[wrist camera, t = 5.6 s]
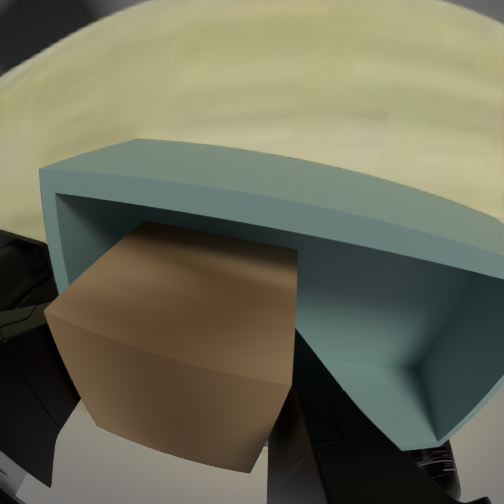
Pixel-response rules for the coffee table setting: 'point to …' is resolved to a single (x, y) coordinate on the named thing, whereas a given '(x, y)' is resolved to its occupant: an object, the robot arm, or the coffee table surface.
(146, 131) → the coffee table surface
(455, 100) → the coffee table surface
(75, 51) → the coffee table surface
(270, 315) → the walnut cube
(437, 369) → the tote
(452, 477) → the supplement bottle
